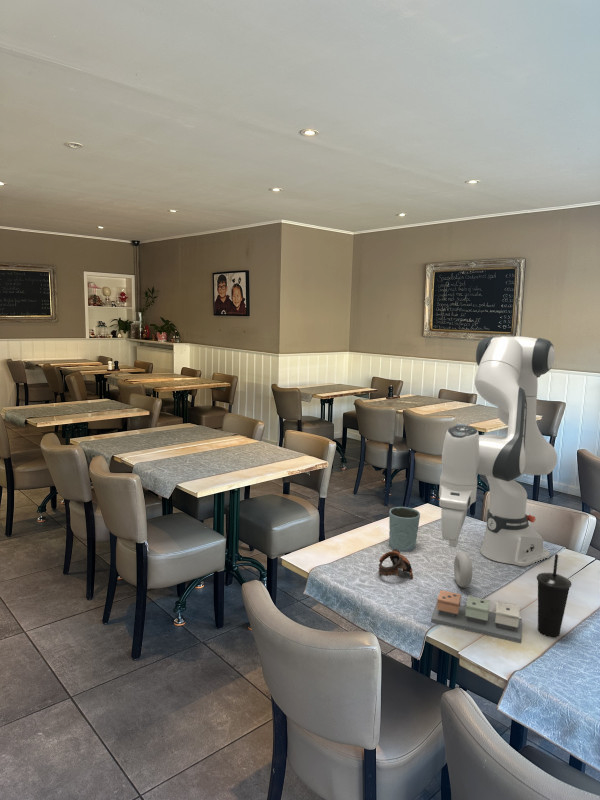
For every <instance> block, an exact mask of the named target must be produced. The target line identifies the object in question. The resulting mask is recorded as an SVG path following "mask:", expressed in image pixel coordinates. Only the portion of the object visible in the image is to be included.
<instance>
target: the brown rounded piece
mask: <svg viewBox="0 0 600 800" xmlns="http://www.w3.org/2000/svg"><path fill="white" fill-rule="evenodd" d="M388 558H389V559H390V561H391V564H392V565H391V566H383V565H382V564H383V562H384V561H386V560H387V559H388ZM378 561H379V564H378V566H379V567H378V573H379V575H380V576H384V577H388V576H389V577H390V576H399V577H400V573H399V572H400V571H399V570H402V572H406V573H409V575H410V579H411V580H413V579H414V575H413V568H412V565H411V562H410V561H409V559H408V558H407V557H406V556H405V555H403V554H401V551H398V550H397V549H395V550H394V549H392V550H391V551H387V552H386V553H384V554H383V555H381V556H380V558H379V560H378Z"/></svg>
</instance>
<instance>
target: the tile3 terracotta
mask: <svg viewBox="0 0 600 800" xmlns="http://www.w3.org/2000/svg"><path fill="white" fill-rule="evenodd" d="M461 600H462V594H461V593H456V592H452V591H447V590H442V589H441V590H440V591H439V594H438V596H437V601H436V603H437V610H441V611H446V612H450V613H455V614H458V612H459V608H460V605H461Z"/></svg>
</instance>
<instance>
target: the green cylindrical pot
mask: <svg viewBox="0 0 600 800" xmlns="http://www.w3.org/2000/svg"><path fill="white" fill-rule="evenodd" d="M388 513H389V515H388V516H389V518H388V519H389V521H388V523H389V525H388V529H389V530H388V531H389V533H388V535H389V538H388V539H389V544H388V546H389V547H390V548H391V549H392V550H395V549H397V550H398V551H399V552H412V551H414V550H415V549H416V544H417V539H418V538H417V537H418V531H419V524H420V519H421V512H419V510H417V509H415V508H412V507H406V506H395V507H392V508H390V509H389V512H388Z"/></svg>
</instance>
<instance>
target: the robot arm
mask: <svg viewBox="0 0 600 800" xmlns="http://www.w3.org/2000/svg"><path fill="white" fill-rule="evenodd" d="M555 358H556V353H555V348H554V344H553V342H552V341H550V340H549V339H546V338H541V337H537V338H535V337H528V336H520V335H519V336H518V335H516V336H506V335H505V336H488V337H484V338H482V339H481V340H480V341H479V342H478V343H477V347H476V350H475V361H476V362H475V363H476V365H477V366H478V368H477V370H476V374H475V378H474V386H475V389H476V391H477V393H478V395H479V396H481V398H482V399H484V400H485V401H486V402H487V403H489V404H491V405H493V406H496V407H497V411H496V413H497V417H498V419H499V421H500V422H502V423H503V424H504V425H506V426H507V436H506V435H500V434H494V433H492V434H479V430H478V429H477V428H475V427H473V426H471V425H462V424H461V425H453V426H451V427H449V428H448V429H447V430H446V433H445V436H444V438H443V439H444V440H443V446H442V452H441V468H442V469H441V470H442V471H441V474H440V478H439V490H438V498H439V504H438V505H439V507H440V508H441V515H440V517H441V518H440V519H441V521H440V522H441V524H440V525H441V527H440V528H441V537H442V539H443V540H445V541H448V542H449V543H448V546H449V547H450V548H457V547H458V543H459V539H460V538H459V537H460V534H461V532H462V529H463V526H464V523H465V520H466V517H467V512H468V509H469V508H470V507H471V505H472V504H474V503H475V502H476V501H477V488H478V477H477V475H481V476H485V478H486V480H487V483H488V487H489V504H488V509H487V512H486V527H485V530H484V535H483V540H481V541H482V542H481V546H480V549H479V552H480V554H481V555H483V556H484V557H485V558H487V559H489V560H491V561H495V562H499V563H503V564H508V565H509V564H511V565H515V566H518V567H528V566H530V565H533V564H535V562H536V563H539V562H541V561H543V559H544V560H546V559H545V558H547V559H549V558H548V557H550V556H552V555H551V552H550V551H548V549H545V548H544V540H543V537H542V535H540V534H539V533H538V532H537V531H536V530H535V529H534V528H533V527H532V526H531V525H530V524H529V522H530V523H532V524H533V523H535V522H536V516H534V515H532V514H527V513H526V512H527V503H528V502H527V500H528V493H527V490H526V489H525V488H524V486H523V485H521V484H520V483H518V481H515V480H516V479H517V478H519V477H520V476H522V475H523V474H525V475H531V476H543V475H544V476H545V475H549V474H551V472H553V470H554V469H555V467H556V466H557V463H558V454H557V452H556V450H555V449H556V448H555V447H554V446H553V445H552V444H551V443H550V442H549V441H547V439H546V438H545V437H544V435H543V434H542V433H541V430H540V429H539V426H538V423H537V401H538V400H537V399H538V378H540V377H542V376H543V375H545V374H547V373H548V372H549V371H550V370H551V369H552V366H553V365H554V362H555ZM550 558H551V557H550ZM540 560H541V561H540ZM538 561H539V562H538Z"/></svg>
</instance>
